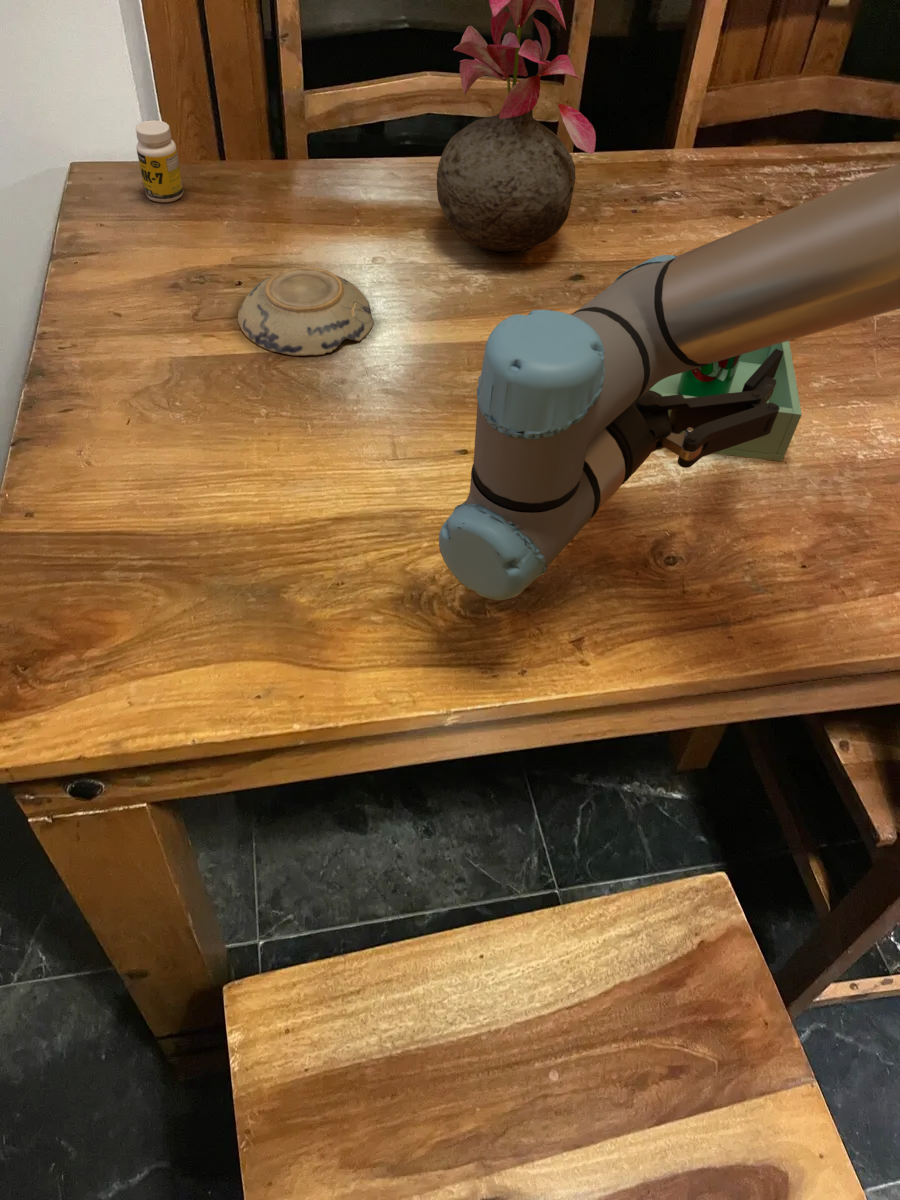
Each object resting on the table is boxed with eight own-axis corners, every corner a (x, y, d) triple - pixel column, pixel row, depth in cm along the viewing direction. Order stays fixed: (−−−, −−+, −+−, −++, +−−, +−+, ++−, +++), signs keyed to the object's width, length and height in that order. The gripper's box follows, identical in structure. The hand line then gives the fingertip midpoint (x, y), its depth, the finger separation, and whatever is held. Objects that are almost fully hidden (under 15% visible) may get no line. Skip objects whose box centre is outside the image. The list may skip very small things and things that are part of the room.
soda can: (708, 377, 98) (740, 272, 89) (735, 405, 95) (771, 300, 86) (667, 387, 96) (695, 282, 87) (693, 416, 94) (726, 311, 84)
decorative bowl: (345, 370, 97) (393, 294, 107) (343, 340, 95) (393, 265, 104) (214, 340, 100) (273, 269, 109) (208, 310, 97) (269, 239, 106)
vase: (437, 203, 121) (447, -73, 98) (571, 211, 121) (613, -62, 98) (431, 273, 110) (441, -20, 87) (578, 282, 110) (626, -8, 87)
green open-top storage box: (769, 367, 101) (786, 320, 97) (782, 461, 91) (802, 414, 87) (625, 350, 102) (635, 302, 97) (622, 442, 92) (634, 394, 87)
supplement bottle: (138, 197, 119) (123, 129, 112) (161, 182, 121) (148, 115, 115) (169, 207, 117) (156, 138, 111) (191, 191, 120) (180, 124, 114)
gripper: (456, 426, 81) (582, 319, 92) (717, 558, 72) (820, 422, 83) (461, 353, 75) (594, 249, 87) (745, 487, 66) (852, 351, 78)
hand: (706, 334), depth 85 cm, fingers open, 13 cm apart
